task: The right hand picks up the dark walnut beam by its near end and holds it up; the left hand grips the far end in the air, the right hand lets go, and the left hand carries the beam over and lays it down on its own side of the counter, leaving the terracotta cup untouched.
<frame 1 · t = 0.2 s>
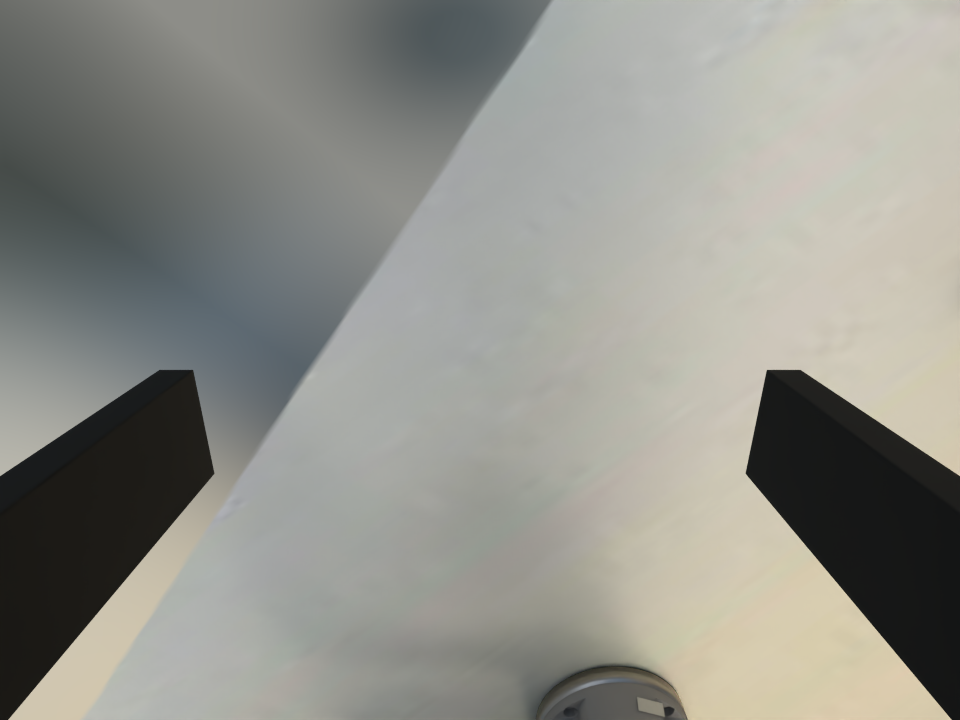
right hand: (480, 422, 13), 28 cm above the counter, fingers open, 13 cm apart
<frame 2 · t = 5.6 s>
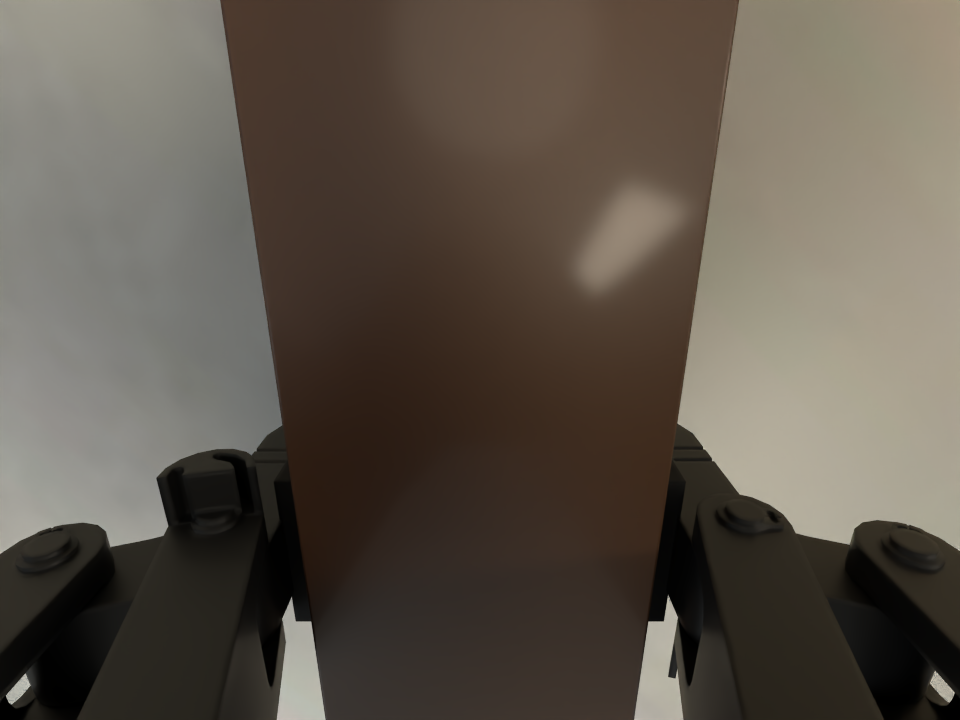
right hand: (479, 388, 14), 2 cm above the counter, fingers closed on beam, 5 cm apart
beam: (479, 54, 12), point 2 cm above the counter, touching right hand
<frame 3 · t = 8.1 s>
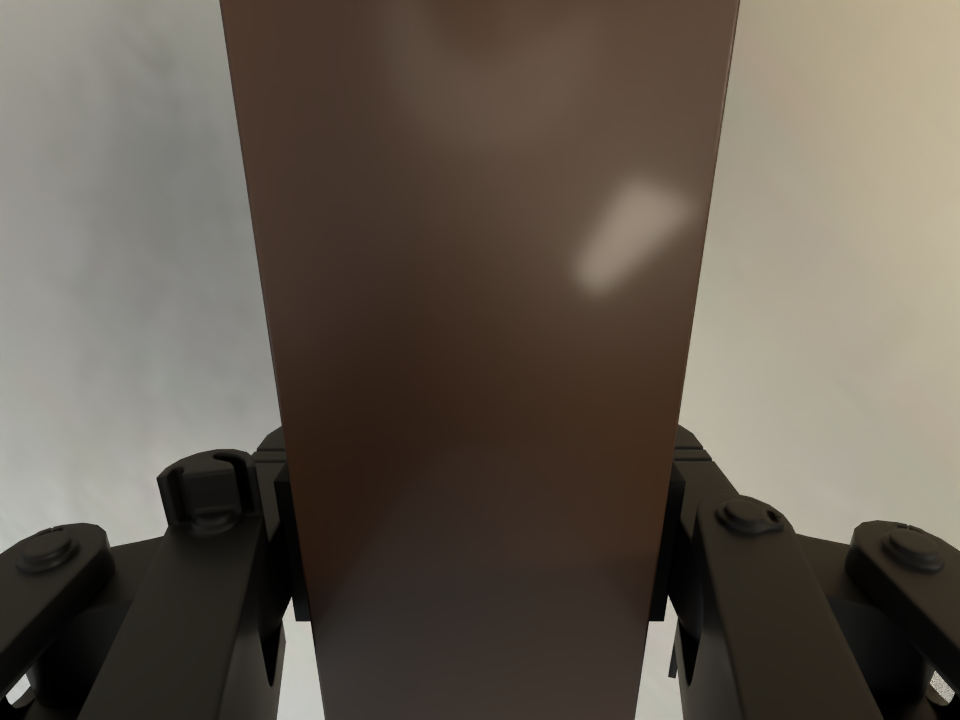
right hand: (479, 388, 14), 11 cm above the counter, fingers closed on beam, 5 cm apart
beam: (479, 54, 12), point 10 cm above the counter, touching right hand
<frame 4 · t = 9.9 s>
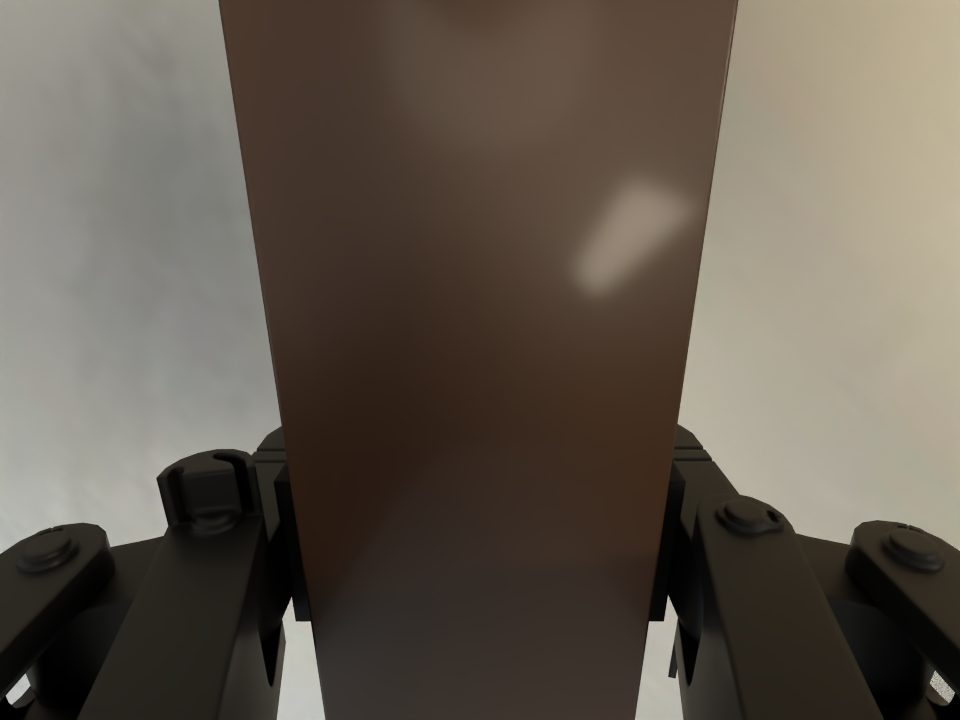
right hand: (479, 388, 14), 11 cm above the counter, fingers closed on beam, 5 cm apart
beam: (479, 54, 12), point 10 cm above the counter, touching right hand, left hand
when the right hand's fingers open (11 cm above the counter, at t = 10.6 s): beam stays where it is, held by the left hand.
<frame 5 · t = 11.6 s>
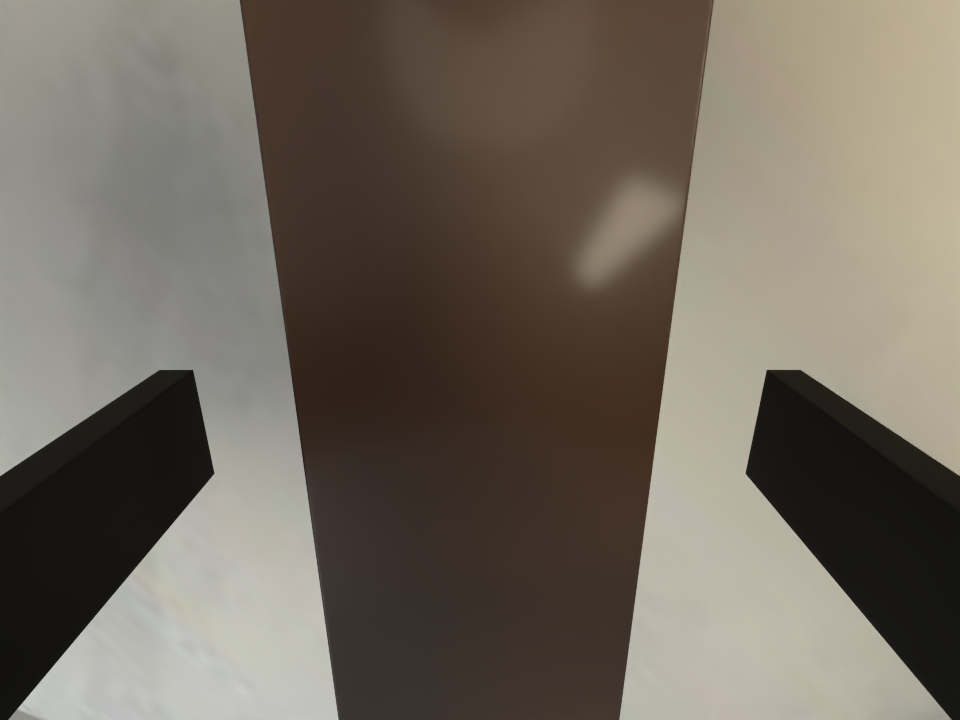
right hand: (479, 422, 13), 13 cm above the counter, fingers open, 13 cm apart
beam: (478, 52, 12), point 10 cm above the counter, touching left hand
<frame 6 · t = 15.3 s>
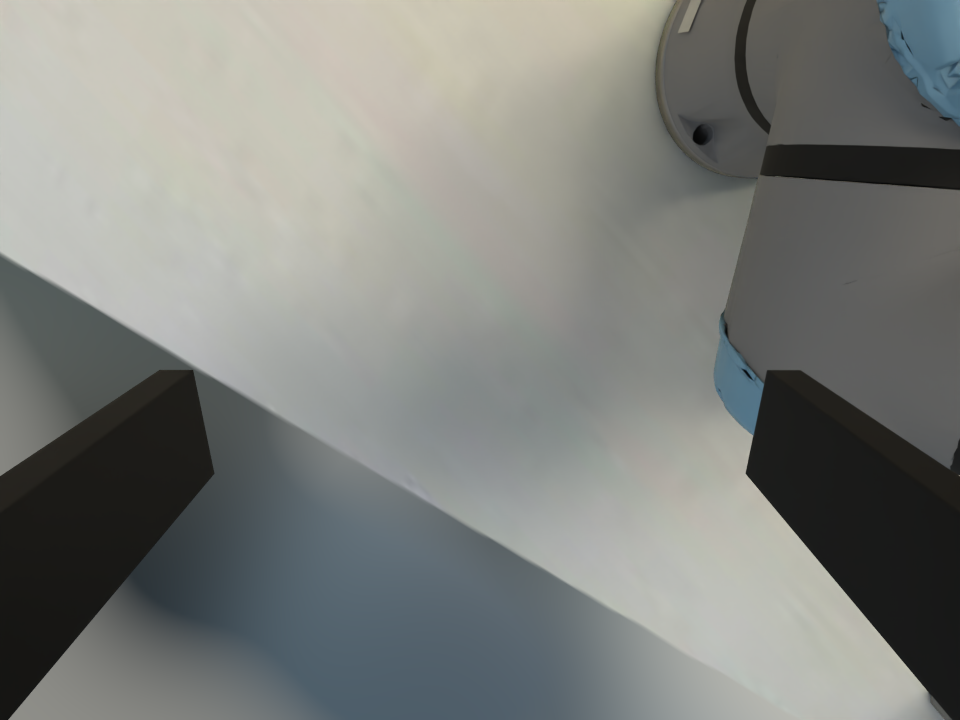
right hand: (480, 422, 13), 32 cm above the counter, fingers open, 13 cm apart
when the left hand's fingers open (1 cm above the counter, at t = 20.7 s): beam stays where it is, on the counter.
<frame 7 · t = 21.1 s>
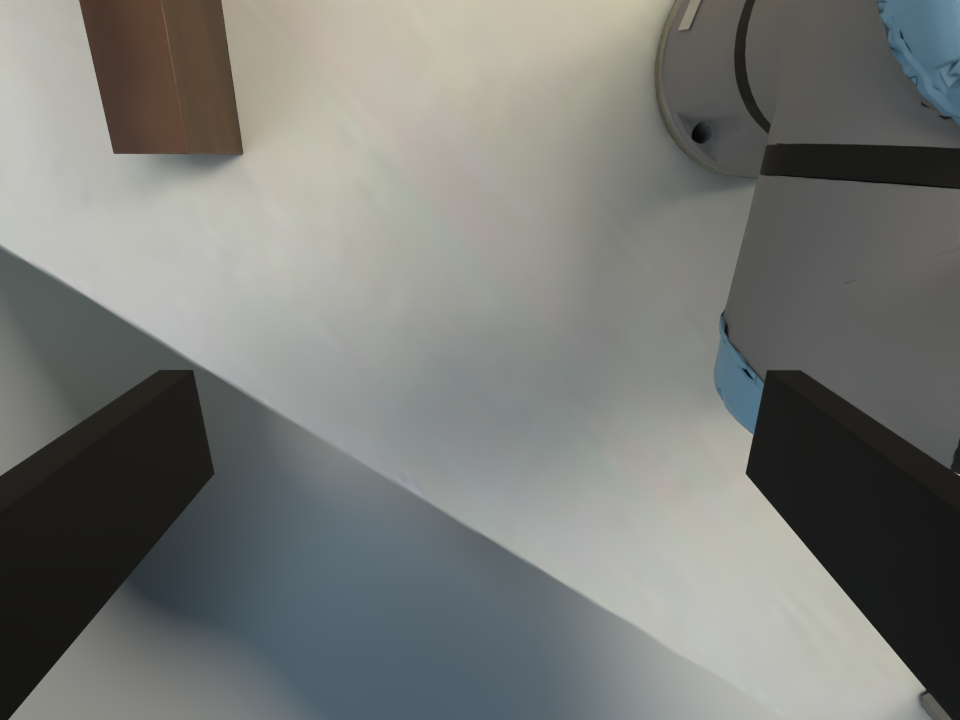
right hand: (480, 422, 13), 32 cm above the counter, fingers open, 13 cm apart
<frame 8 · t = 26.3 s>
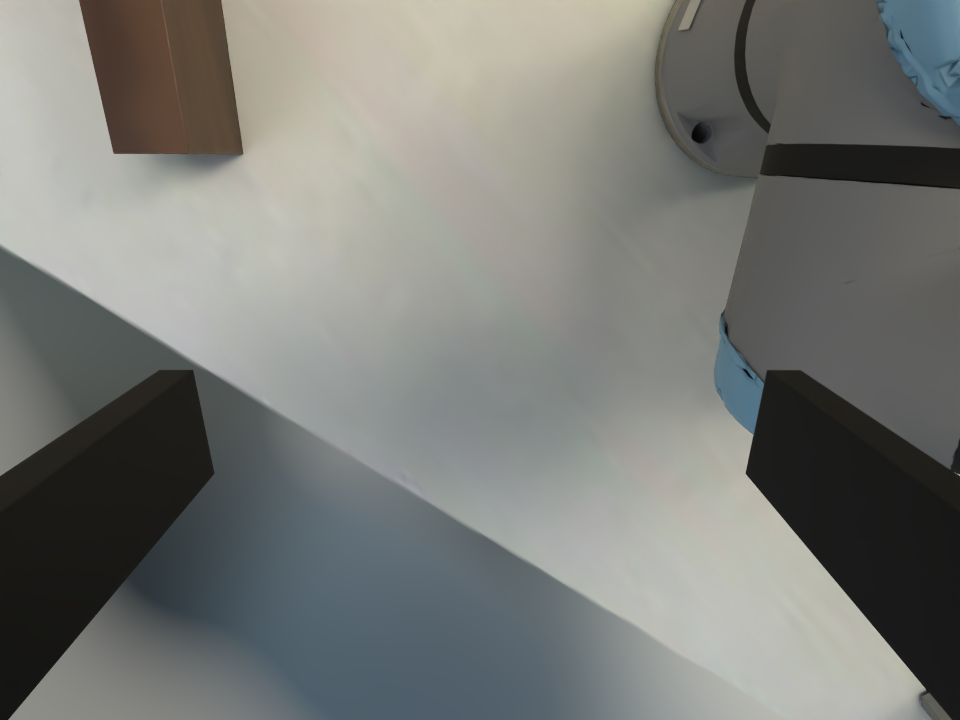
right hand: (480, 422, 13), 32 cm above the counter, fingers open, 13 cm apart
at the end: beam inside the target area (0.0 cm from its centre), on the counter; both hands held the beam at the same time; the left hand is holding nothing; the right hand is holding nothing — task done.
